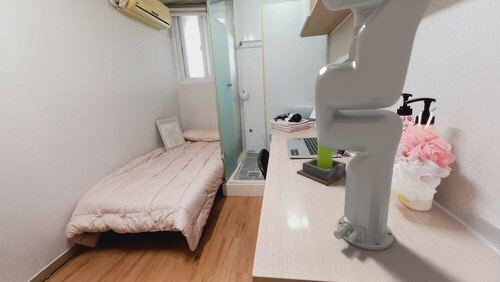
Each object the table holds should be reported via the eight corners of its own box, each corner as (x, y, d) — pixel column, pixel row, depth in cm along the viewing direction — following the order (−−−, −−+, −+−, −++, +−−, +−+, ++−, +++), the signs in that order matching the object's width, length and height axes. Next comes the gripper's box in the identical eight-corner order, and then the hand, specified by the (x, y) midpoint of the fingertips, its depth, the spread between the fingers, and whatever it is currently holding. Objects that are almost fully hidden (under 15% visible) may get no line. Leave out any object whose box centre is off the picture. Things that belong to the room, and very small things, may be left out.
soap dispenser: (313, 173, 88) (314, 127, 83) (321, 168, 93) (322, 124, 88) (327, 176, 84) (328, 128, 79) (334, 171, 89) (335, 125, 84)
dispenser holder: (327, 185, 78) (327, 174, 77) (296, 173, 92) (296, 162, 90) (352, 174, 86) (352, 163, 85) (320, 164, 100) (320, 154, 99)
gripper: (398, 27, 66) (393, 82, 70) (348, 39, 80) (346, 85, 85) (386, 25, 62) (381, 83, 67) (336, 38, 77) (335, 86, 81)
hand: (362, 84), depth 76 cm, fingers open, 9 cm apart
